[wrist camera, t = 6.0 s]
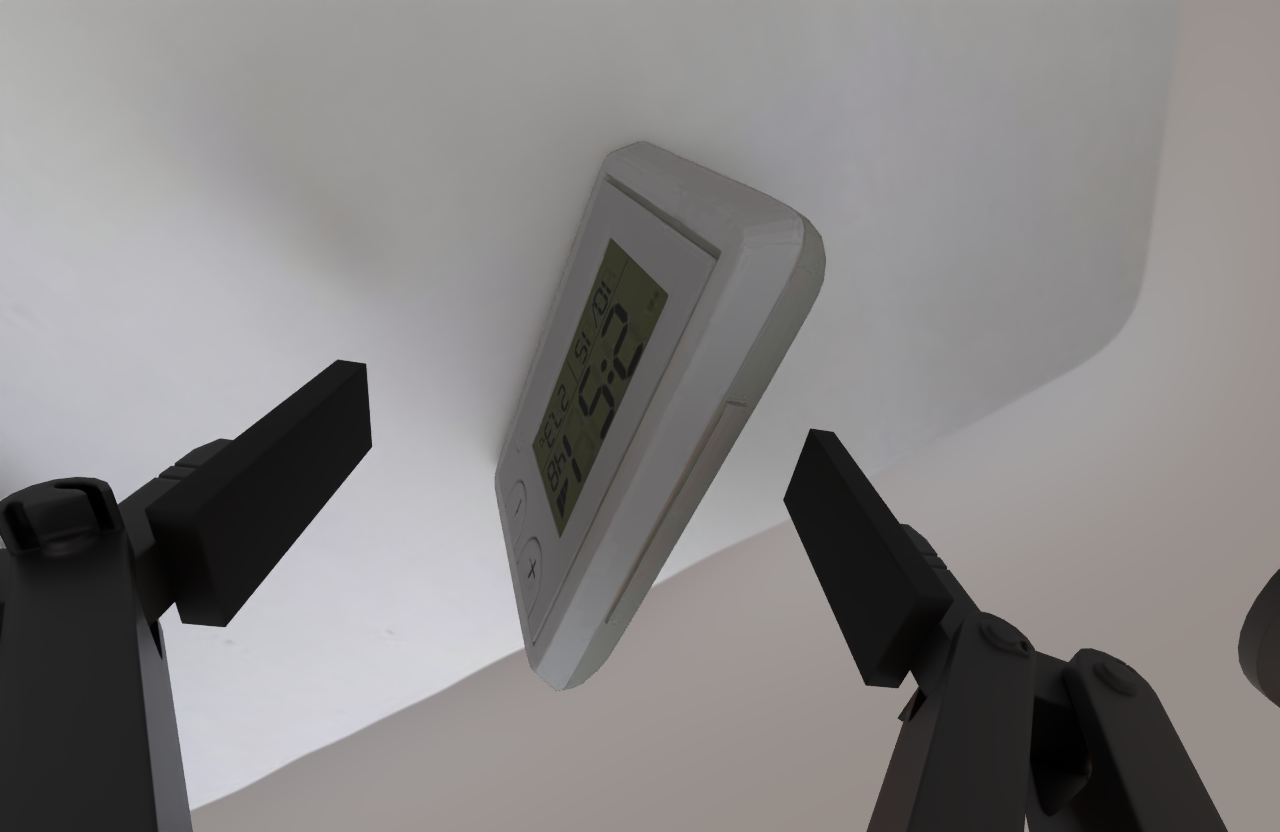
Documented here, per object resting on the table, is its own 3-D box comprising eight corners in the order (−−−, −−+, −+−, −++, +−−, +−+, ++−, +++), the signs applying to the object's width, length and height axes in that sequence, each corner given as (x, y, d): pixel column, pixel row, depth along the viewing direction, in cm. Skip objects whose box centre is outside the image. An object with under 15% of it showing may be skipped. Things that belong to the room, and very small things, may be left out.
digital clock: (634, 110, 18) (641, 76, 9) (822, 258, 21) (984, 355, 11) (440, 443, 24) (320, 633, 15) (603, 526, 27) (589, 735, 17)
